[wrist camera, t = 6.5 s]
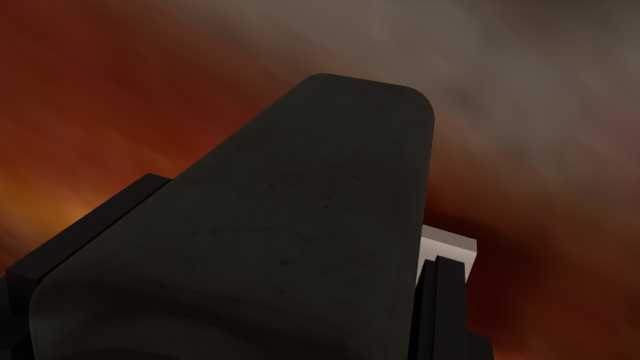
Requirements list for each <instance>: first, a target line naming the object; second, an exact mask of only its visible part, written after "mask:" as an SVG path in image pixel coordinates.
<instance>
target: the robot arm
mask: <svg viewBox="0 0 640 360" xmlns="http://www.w3.org/2000/svg"><path fill="white" fill-rule="evenodd" d="M172 180H173V179H169V178H166V177H162V176H159V175H155V174H152V173H148V174H146V175H144V176H143V177H141V178H140V179H138V180H137V181H135V182H134V183H132V184H131V185H129V186H128V187H126V188H125V189H123V190H122V191H120V192H119V193H118V194H116V195H115V196H113V197H112V198H110V199H109V200H107V201H106V202H104V203H103V204H101V205H100V206H98V207H97V208H95V209H94V210H92V211H91V212H90V213H88V214H87V215H85V216H84V217H82V218H81V219H79V220H78V221H76V222H75V223H73V224H72V225H70V226H69V227H67V228H66V229H64V230H63V231H61V232H60V233H59V234H57V235H56V236H54V237H53V238H51V239H50V240H48V241H47V242H45V243H44V244H42V245H41V246H39V247H38V248H36V249H35V250H33V251H32V252H31V253H29V254H28V255H26V256H25V257H23V258H22V259H20V260H19V261H17V262H16V263H14V264H13V265H11V266H10V267H8V268H7V269H5V270H6V275H5V276H3V277H2V278H0V360H35V357H34V351H33V345H32V339H31V333H30V327H29V305H30V302H31V299H32V295H33V292H34V291H35V289H36V288H37V287H38V285H39V284H40V283H41V282H42V281H43V279H44V278H45V277H46V276H47V275H48V274H49V273H51V272H52V271H53V270H55V269H56V268H57V267H59V266H60V265H61V264H62V263H64V262H65V261H66V260H68V259H69V258H70V257H72V256H73V255H74V254H76V253H77V252H78V251H80V250H81V249H82V248H84V247H85V246H86V245H87V244H89V243H90V242H91V241H93V240H94V239H95V238H97V237H98V236H99V235H101V234H102V233H103V232H105V231H106V230H107V229H108V228H110V227H111V226H112V225H114V224H115V223H116V222H118V221H119V220H120V219H122V218H123V217H124V216H126V215H127V214H128V213H129V212H131V211H132V210H133V209H135V208H136V207H137V206H139V205H140V204H141V203H143V202H144V201H145V200H147V199H148V198H149V197H151V196H152V195H153V194H154V193H156V192H157V191H158V190H160V189H161V188H162V187H164V186H165V185H166V184H168V183H169V182H170V181H172ZM407 360H494V356H493V346H492V341H491V339H490V338H489V337H488V336H484V335H481V334H478V333H474V332H471V331H468V330H467V305H466V280H465V263H464V262H461V261H457V260H454V259H450V258H447V257H443V256H440V255H437V256H436V258H435V261H432V260H428V259H425V261H424V263H423V266H422V269H421V272H420V276H419V279H418V282H417V285H416V288H415V296H414V305H413V314H412V323H411V331H410V340H409V349H408V358H407Z"/></svg>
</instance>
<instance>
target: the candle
mask: <svg viewBox="0 0 640 360" xmlns="http://www.w3.org/2000/svg"><path fill="white" fill-rule="evenodd" d="M434 119H435V117H434V112H433V108H432V106H431V104H430V102H429V100H428V99H427V98H426V97H425V96H424V95H423V94H422V93H420V92H419V91H417V90H415V89H413V88H410V87H406V86H401V85H395V84H389V83H382V82H376V81H370V80H364V79H358V78H352V77H346V76H340V75H334V74H323V73H319V74H315V75H311V76H310V77H308V78H306V79H304V80H303V81H302V82H300V83H299V84H298V85H296V86H295V87H294V88H292V89H291V90H290V91H289V92H287V93H286V94H285V95H283V96H282V97H281V98H279V99H278V100H277V101H275V102H274V103H273V104H271V105H270V106H269V107H267V108H266V109H265V110H264V111H262V112H261V113H260V114H258V115H257V116H256V117H254V118H253V119H252V120H250V121H249V122H248V123H246V124H245V125H244V126H243V127H241V128H240V129H239V130H237V131H236V132H235V133H233V134H232V135H231V136H229V137H228V138H227V139H225V140H224V141H223V142H221V143H220V144H219V145H218V146H216V147H215V148H214V149H212V150H211V151H210V152H208V153H207V154H206V155H204V156H203V157H202V158H200V159H199V160H198V161H197V162H195V163H194V164H193V165H191V166H190V167H189V168H187V169H186V170H185V171H183V172H182V173H181V174H179V175H178V176H177V177H175V178H174V179H173V180H172V181H170V182H169V183H168V184H166V185H165V186H164V187H162V188H161V189H160V190H158V191H157V192H156V193H154V194H153V195H152V196H151V197H149V198H148V199H147V200H145V201H144V202H143V203H141V204H140V205H139V206H137V207H136V208H135V209H133V210H132V211H131V212H129V213H128V214H127V215H126V216H124V217H123V218H122V219H120V220H119V221H118V222H116V223H115V224H114V225H112V226H111V227H110V228H108V229H107V230H106V231H105V232H103V233H102V234H101V235H99V236H98V237H97V238H95V239H94V240H93V241H91V242H90V243H89V244H87V245H86V246H85V247H84V248H82V249H81V250H80V251H78V252H77V253H76V254H74V255H73V256H72V257H70V258H69V259H68V260H66V261H65V262H64V263H62V264H61V265H60V266H59V267H57V268H56V269H55V270H53V271H52V272H51V273H49V274H48V275H47V276H46V277H45V278H44V279H43V281H42V282H41V283H40V284H39V285H38V287H37V288H36V289H35V291H34V292H33V295H32V299H31V302H30V305H29V327H30V333H31V339H32V345H33V351H34V357H35V360H407V358H408V349H409V340H410V331H411V323H412V314H413V305H414V296H415V288H416V279H417V270H418V261H419V253H420V244H421V235H422V226H423V218H424V209H425V200H426V191H427V183H428V174H429V165H430V156H431V148H432V139H433V130H434Z"/></svg>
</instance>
